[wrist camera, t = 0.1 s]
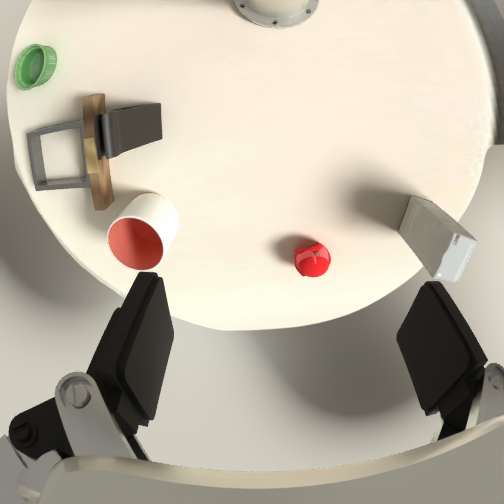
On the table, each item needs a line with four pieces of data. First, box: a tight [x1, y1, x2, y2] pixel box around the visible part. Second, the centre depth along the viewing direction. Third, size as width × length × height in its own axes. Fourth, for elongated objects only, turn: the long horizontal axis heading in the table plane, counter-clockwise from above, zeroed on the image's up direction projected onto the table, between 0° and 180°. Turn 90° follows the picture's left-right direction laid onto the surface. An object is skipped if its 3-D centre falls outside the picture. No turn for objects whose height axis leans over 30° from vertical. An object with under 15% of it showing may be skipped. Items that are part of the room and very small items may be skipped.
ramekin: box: [14, 44, 57, 90], centre depth 28 cm, size 9×9×4 cm
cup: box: [107, 193, 179, 271], centre depth 44 cm, size 10×10×10 cm
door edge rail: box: [83, 94, 114, 210], centre depth 39 cm, size 20×2×4 cm, turn 177°
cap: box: [295, 243, 331, 277], centre depth 50 cm, size 8×6×6 cm
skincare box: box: [398, 196, 478, 282], centre depth 40 cm, size 8×7×16 cm
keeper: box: [27, 119, 91, 191], centre depth 39 cm, size 12×15×3 cm
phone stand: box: [93, 103, 162, 160], centre depth 34 cm, size 9×6×12 cm, turn 88°
